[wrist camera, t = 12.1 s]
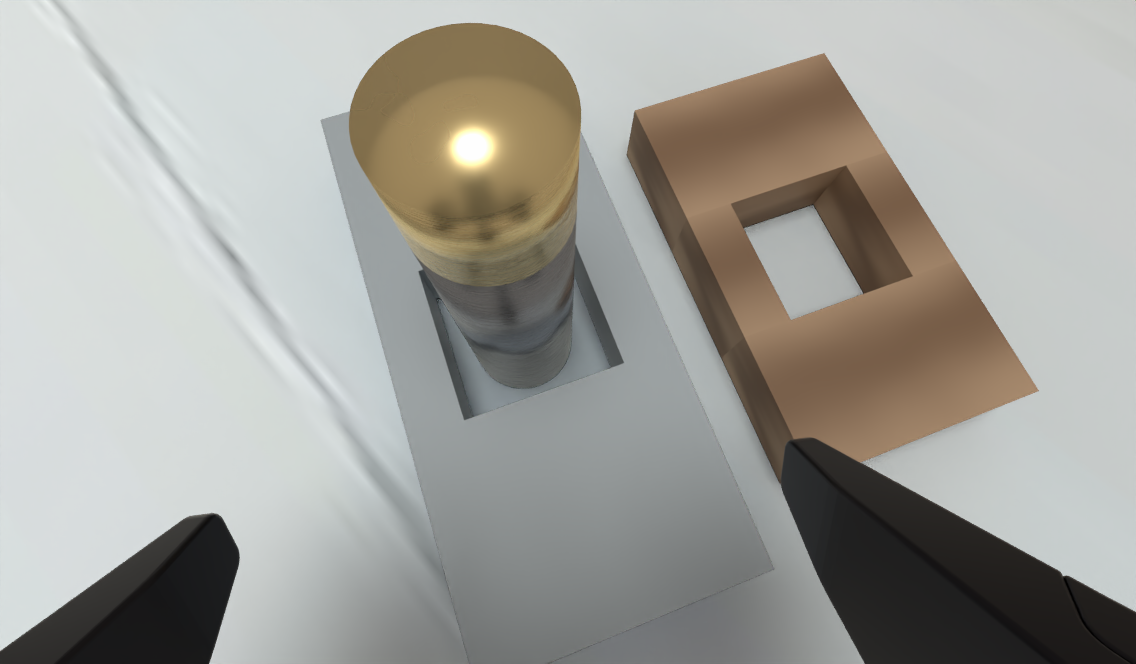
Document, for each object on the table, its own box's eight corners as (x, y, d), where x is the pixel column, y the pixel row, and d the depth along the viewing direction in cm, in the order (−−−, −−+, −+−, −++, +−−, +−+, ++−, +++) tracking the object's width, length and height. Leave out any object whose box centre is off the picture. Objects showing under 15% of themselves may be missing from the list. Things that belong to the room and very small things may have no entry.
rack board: (744, 559, 20) (774, 568, 17) (490, 664, 19) (477, 693, 16) (549, 103, 26) (546, 55, 23) (348, 163, 25) (320, 119, 22)
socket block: (976, 405, 22) (1038, 390, 19) (780, 483, 21) (814, 480, 18) (796, 101, 26) (824, 53, 24) (626, 154, 25) (634, 110, 23)
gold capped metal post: (590, 347, 23) (629, 125, 9) (516, 408, 22) (440, 262, 8) (530, 280, 23) (486, -12, 10) (457, 336, 23) (303, 100, 9)
